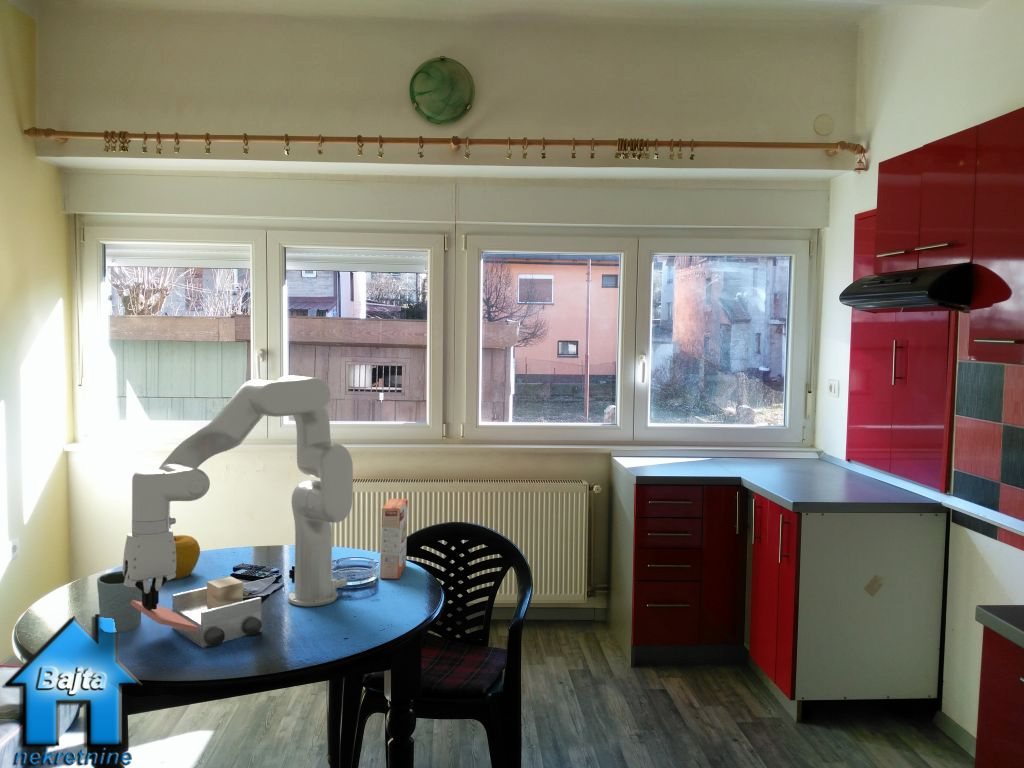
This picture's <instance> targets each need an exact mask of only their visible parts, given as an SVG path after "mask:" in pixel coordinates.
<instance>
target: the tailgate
mask: <svg viewBox="0 0 1024 768" xmlns="http://www.w3.org/2000/svg"><path fill="white" fill-rule="evenodd" d="M130 604H131V605H132V606H134V607H135V608H136V609H138V610H139V611H141V614H142V613H143V614H144V615H145V616H147V617H148V618H150V619H151V620H153V621H154V622H156V623H157V624H158V625H164V626H168V627H172V628H173V627H177V628H181V629H186V630H191V631H195V632H197V629H198V627H197V626H196V625H194V624H192V623H191V622H189V621H188V620H186V619H184V618H183V617H181V616H180V615H178V614H176V613H175V612H173V609H170V608H168V607H164V606H160V605H157V609H155V610H154V609H152V610H150V611H148V610H147V609H145V608H144V607H143V606H142V602H139V601H135V600H132V601H131V603H130Z"/></svg>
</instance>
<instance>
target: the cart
mask: <svg viewBox="0 0 1024 768" xmlns="http://www.w3.org/2000/svg"><path fill="white" fill-rule="evenodd" d="M172 611H173V612H175V613H176V614H178V615H180V616H181V617H183V618H184V619H186V620H188V621H189V622H191V623H192V624H194V625H196V626H197V627H198V629H197V632H195V631H191V630H186V629H181V628H177V627H172V629H174V630H175V631H177V632H178V633H180V634H181V635H183V636H184V637H186V638H187V639H189V640H190V641H192V642H193V643H195V644H197V646H199V647H201V648H207V646H208V647H212V648H213V647H215V646H216V647H218V646H220V645H221V644H222V643H225V642H228V640H229V641H231V640H232V641H233V640H235V638H236V639H239V638H243V637H246V636H250V637H252V636H253V637H254V636H256V635H258V634H259V632H262V626H263V623H262V597H260V596H258V597H254V598H250V599H245V600H243V601H241V602H237V603H233V604H229V605H225V606H221V607H217V608H213V609H210V608H209V607H207V586H206V587H200V588H197V589H191V590H188V591H187V590H186V591H182V592H178V593H174V594H172ZM242 636H243V637H242ZM216 647H215V648H216Z"/></svg>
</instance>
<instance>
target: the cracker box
mask: <svg viewBox="0 0 1024 768" xmlns="http://www.w3.org/2000/svg"><path fill="white" fill-rule="evenodd" d="M408 503H409V499H407V498H390V499H388V501H387V502H386V503H384V504H385V505H384V506H383V507H382V508H381V523H380V524H381V525H380V527H381V533H380V563H379V566H380V567H379V568H380V569H379V579H384V580H385V579H386V580H388V579H389V580H399V579H400V577H401V575H402V574H403V572H404V569H405V567H406V565H407V540H408V538H407V537H408V535H407V534H408V511H409V510H408V507H409V505H408Z"/></svg>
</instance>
